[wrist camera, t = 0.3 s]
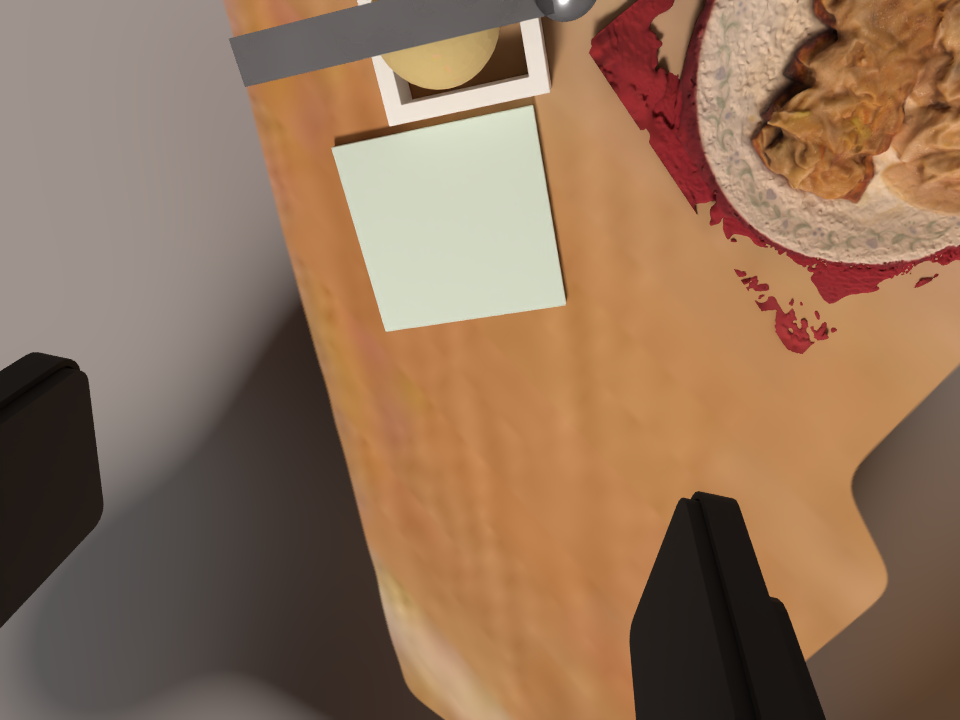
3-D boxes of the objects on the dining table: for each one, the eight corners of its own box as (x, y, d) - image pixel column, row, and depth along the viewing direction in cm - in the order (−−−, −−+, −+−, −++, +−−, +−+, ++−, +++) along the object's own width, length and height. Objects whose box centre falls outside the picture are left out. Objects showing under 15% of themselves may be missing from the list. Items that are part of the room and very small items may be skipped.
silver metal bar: (243, 27, 31) (225, 28, 29) (595, -63, 28) (596, -67, 26) (264, 92, 32) (248, 96, 31) (604, 12, 29) (605, 12, 27)
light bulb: (483, 96, 41) (458, 119, 32) (387, 47, 41) (335, 56, 32) (531, -12, 38) (517, -20, 29) (429, -67, 38) (384, -92, 29)
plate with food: (583, 42, 40) (583, 46, 37) (1089, -374, 30) (1148, -417, 26) (786, 347, 47) (800, 372, 44) (1248, 100, 37) (1309, 110, 34)
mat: (334, 146, 44) (331, 148, 43) (533, 104, 41) (532, 105, 41) (387, 328, 49) (385, 331, 49) (566, 301, 47) (566, 305, 46)
